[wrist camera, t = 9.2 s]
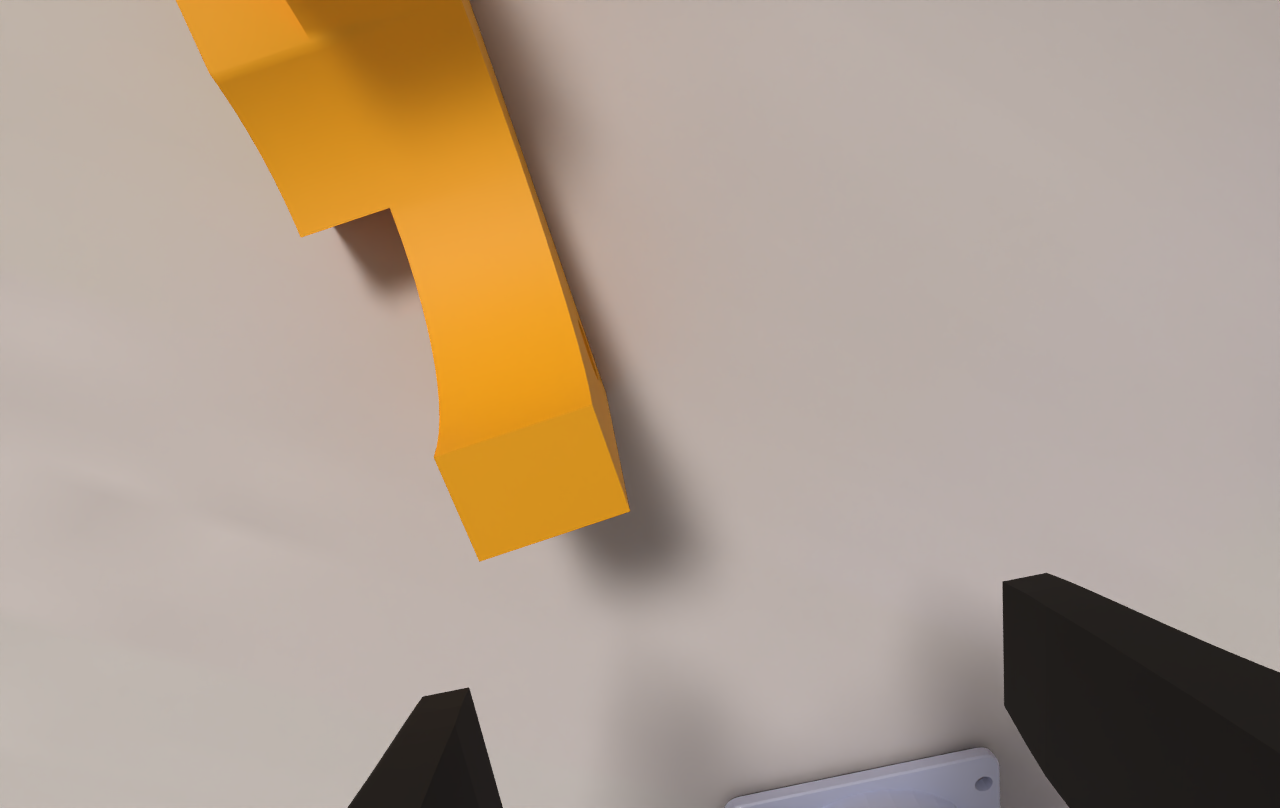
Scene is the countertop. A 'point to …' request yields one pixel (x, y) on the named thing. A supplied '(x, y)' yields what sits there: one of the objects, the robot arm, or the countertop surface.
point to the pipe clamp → (435, 235)
